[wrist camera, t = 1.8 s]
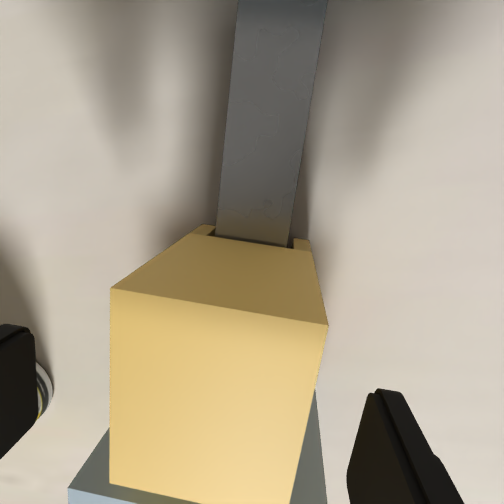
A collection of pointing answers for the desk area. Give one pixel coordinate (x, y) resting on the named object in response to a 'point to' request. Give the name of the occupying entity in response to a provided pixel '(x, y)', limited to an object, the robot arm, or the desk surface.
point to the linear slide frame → (133, 500)
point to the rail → (267, 117)
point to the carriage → (214, 369)
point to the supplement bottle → (43, 389)
